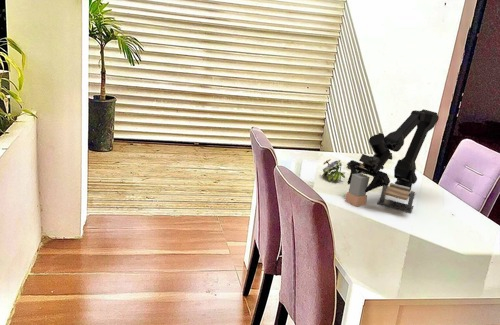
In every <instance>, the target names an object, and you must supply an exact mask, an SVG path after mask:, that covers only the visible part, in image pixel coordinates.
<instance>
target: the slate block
mask: <svg viewBox="0 0 500 325" xmlns="http://www.w3.org/2000/svg"><path fill="white" fill-rule="evenodd" d="M369 181H370V176H369V175H367V174H363V173H362V172H361V173H357V174H352V178H351V183H350V184H349V188H348V189H349V190H348V192H349V193H351V194H353V195H355V196H357V197H359V196H365V195H367V192H365V189H366V188H367V187H368V185H369Z"/></svg>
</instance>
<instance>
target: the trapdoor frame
mask: <svg viewBox="0 0 500 325" xmlns="http://www.w3.org/2000/svg"><path fill="white" fill-rule="evenodd" d="M388 186H389V185H388ZM388 186H385V185H384V186H382V187H381V188H382V189H381V192H380V193H381V194H380V197H379V199H378V200H377V202H376V205H379V206H381V207H385V208H386V207H387V208H391V209H394V210H398V211H400V212H404V213H408V214H412V212H413V209H414V205H413V203H414V198H415V195H416V191H412V190H411V191H410V196H408V200H407V203H403V202H400V201H396V200H391V199H388V198H386V195H384V192H385V190H386V189H387V187H388Z"/></svg>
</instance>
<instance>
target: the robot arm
mask: <svg viewBox="0 0 500 325" xmlns="http://www.w3.org/2000/svg"><path fill="white" fill-rule="evenodd" d="M438 122H439V115H438V112H435V111H432V110H428V109H422V110H412V111H411V112H410V115H409V116H408V117H407V118H406V119H405V120H404V122H402V123H401V125H399V127H398V128H397V129H396V130H395V131H391V132H389V133H388V134H387V135H384V133H383V132H379V133H378V134H373V135H372V136H370V137H369V139H368V143H369V145H370V148H371V149H372V151H373V153H374V154H373V156H372V155H367V154H365V153H362V154H361V156H360V158H359V160H358V161H357V160H354V159H352V160H349V161H348V162H349V163H348V162H347V164H348V165H349V167H350V168H349V167H348V168H349V169H350V173H349V177H348V180H347V185H349V186H350V183H351V178H352V174H357V173H361V174H363V173H364V174H365V175H367V176H371V177H373V179H371V180H372V181H371V182H370V183H368V187H367V188H366V189H365V192H366V193H368V192H370V191H373V190H375V189H378V188H380V187H381V188H382V187H383V186H384V185H385V186H389V185H390V183H391V179H390V178H389V175H388V173H386V172H384V171H382V170H384V169H385V167H384V165H385V164H386V163H387V162H388V160H391V161H392V160H393V153H392V152H394V153H395V152H396V153H398V152H399V151H400V150H401V149H402V148H403V146H404V144H405V139H406V138H407V137H408V136H409V135H410V133H411V132H412V131H414V129H415V128H416V129H415V132H414V134H413V136H412V139H411V141H410V143H409V145H408V148H407V150H406V153H405V156H404V157H403V158H402V159H398V160H397V162H396V165H395V166H394V170H393V171H394V172H393V174H394V175H393V176H394V178H395V179H396V181H395V182H394V184H397V185H401V186H405V187H409V188H410V192H411V191H412V190H411V189H412V186H413V185H415V184H416V183H417V181H418V177H417V174H416V171H417V166H416V160H417V158H418V156H419V153H420V152H421V149H422V146H423V144H424V141H425V139H426V138H427V135H428V133H429V132H430V131H431V130H432V129H434V128H435V126H436V124H437V123H438ZM391 151H392V152H391ZM360 163H363V166H364V168H363V167H361V165H360ZM408 197H410V194H409V196H408Z"/></svg>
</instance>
